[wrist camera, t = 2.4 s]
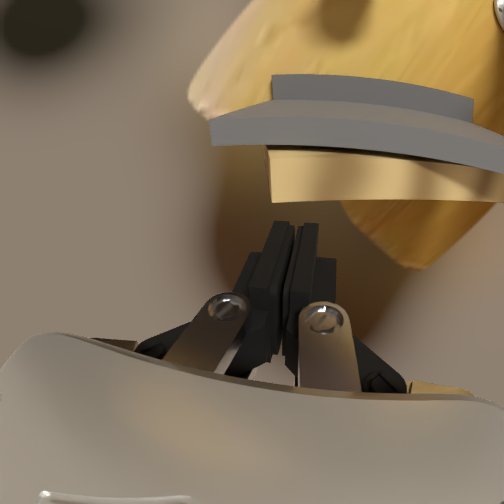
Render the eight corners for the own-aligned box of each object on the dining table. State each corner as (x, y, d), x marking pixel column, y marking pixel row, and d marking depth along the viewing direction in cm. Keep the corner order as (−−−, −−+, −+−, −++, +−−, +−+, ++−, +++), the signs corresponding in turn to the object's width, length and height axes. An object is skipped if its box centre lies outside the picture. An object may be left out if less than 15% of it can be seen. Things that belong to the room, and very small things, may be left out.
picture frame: (430, 130, 32) (520, 174, 16) (428, 150, 33) (514, 203, 18) (260, 123, 32) (269, 159, 17) (261, 146, 34) (272, 202, 19)
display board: (469, 98, 29) (578, 133, 9) (464, 155, 35) (556, 233, 14) (273, 75, 37) (203, 67, 16) (276, 135, 43) (217, 195, 22)
